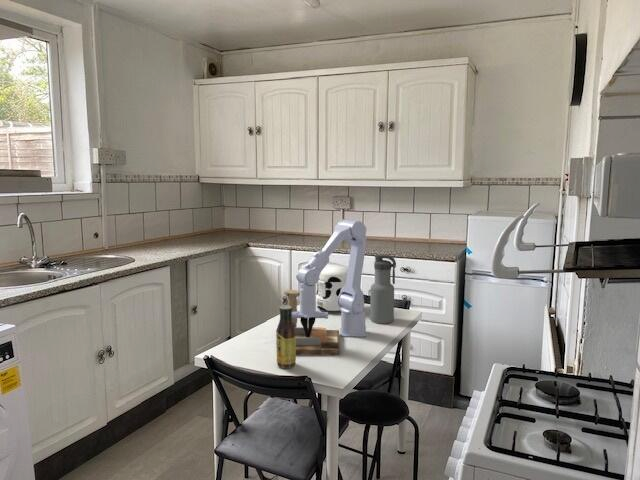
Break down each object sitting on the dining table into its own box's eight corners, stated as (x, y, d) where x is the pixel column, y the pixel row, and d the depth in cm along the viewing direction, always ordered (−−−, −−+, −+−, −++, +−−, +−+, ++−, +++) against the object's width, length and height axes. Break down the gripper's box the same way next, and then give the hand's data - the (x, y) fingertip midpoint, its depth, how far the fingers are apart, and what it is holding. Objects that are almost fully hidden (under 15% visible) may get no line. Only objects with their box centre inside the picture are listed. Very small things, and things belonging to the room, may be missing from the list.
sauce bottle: (276, 362, 159) (275, 303, 156) (295, 361, 159) (295, 303, 156) (276, 370, 152) (275, 309, 149) (296, 369, 153) (295, 309, 150)
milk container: (356, 305, 224) (356, 267, 221) (350, 316, 207) (350, 275, 205) (320, 303, 228) (320, 265, 225) (311, 313, 211) (311, 273, 209)
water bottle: (394, 317, 206) (395, 253, 201) (395, 324, 196) (396, 257, 192) (370, 316, 207) (370, 252, 202) (370, 324, 197) (371, 257, 193)
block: (326, 336, 176) (326, 327, 176) (325, 341, 171) (325, 332, 171) (312, 336, 176) (312, 327, 176) (311, 341, 171) (311, 332, 171)
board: (338, 335, 184) (338, 330, 184) (339, 355, 164) (339, 349, 164) (285, 334, 184) (285, 329, 184) (280, 354, 165) (280, 349, 164)
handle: (295, 331, 189) (295, 294, 186) (282, 328, 192) (281, 291, 190) (302, 327, 193) (302, 291, 190) (289, 324, 196) (289, 289, 194)
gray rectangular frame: (321, 333, 180) (321, 327, 179) (321, 345, 168) (321, 338, 168) (285, 333, 180) (284, 327, 180) (281, 344, 169) (281, 338, 168)
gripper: (286, 304, 168) (287, 341, 170) (327, 304, 168) (328, 341, 170) (288, 298, 175) (288, 334, 177) (328, 298, 175) (328, 334, 177)
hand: (308, 337), depth 174 cm, fingers closed
